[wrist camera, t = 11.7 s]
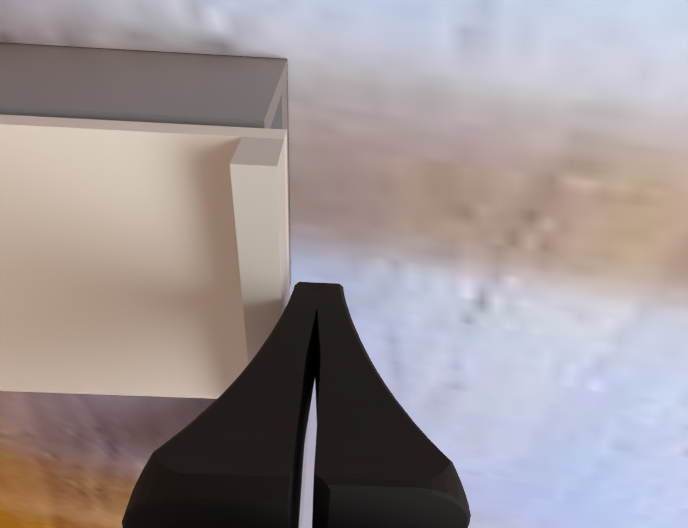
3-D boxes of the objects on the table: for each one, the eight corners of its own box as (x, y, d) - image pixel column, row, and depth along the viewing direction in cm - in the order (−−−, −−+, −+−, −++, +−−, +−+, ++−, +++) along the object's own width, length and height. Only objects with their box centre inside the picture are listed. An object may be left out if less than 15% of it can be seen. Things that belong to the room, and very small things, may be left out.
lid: (291, 387, 18) (285, 438, 16) (-101, 373, 17) (-149, 423, 16) (286, 129, 12) (277, 166, 10) (-302, 98, 12) (-414, 131, 10)
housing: (290, 281, 23) (276, 382, 18) (-12, 268, 22) (-110, 368, 18) (287, 59, 17) (264, 120, 12) (-124, 35, 17) (-317, 89, 12)
